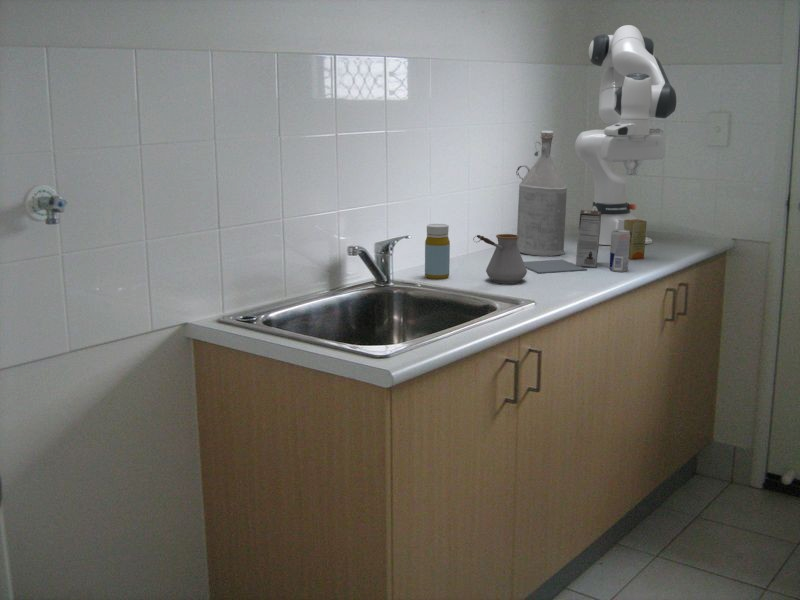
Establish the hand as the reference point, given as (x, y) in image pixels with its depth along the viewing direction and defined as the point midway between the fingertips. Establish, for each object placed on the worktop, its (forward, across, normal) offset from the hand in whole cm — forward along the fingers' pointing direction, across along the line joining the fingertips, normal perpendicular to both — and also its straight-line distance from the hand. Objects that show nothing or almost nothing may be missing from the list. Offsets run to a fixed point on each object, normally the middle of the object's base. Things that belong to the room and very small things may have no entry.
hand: (631, 175), depth 271 cm
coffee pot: (+27, +51, +17) cm, 60 cm away
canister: (+27, +19, -23) cm, 40 cm away
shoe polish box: (+27, -6, -6) cm, 29 cm away
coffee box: (+27, +14, 0) cm, 31 cm away
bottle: (+27, +64, +4) cm, 70 cm away
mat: (+27, +26, 0) cm, 38 cm away
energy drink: (+27, +9, +10) cm, 31 cm away
